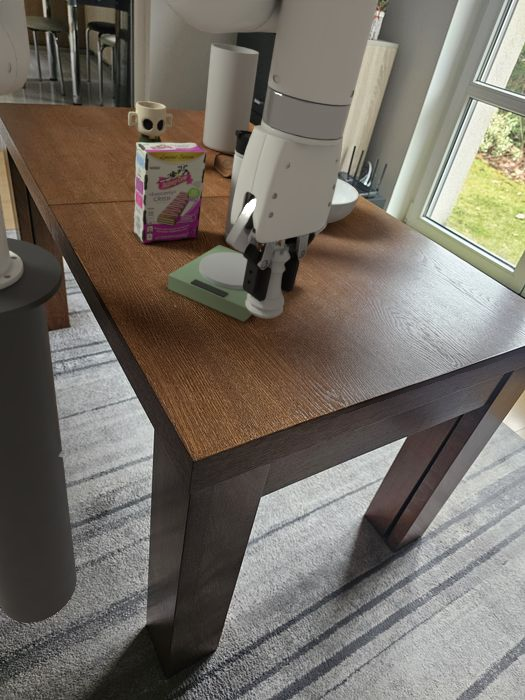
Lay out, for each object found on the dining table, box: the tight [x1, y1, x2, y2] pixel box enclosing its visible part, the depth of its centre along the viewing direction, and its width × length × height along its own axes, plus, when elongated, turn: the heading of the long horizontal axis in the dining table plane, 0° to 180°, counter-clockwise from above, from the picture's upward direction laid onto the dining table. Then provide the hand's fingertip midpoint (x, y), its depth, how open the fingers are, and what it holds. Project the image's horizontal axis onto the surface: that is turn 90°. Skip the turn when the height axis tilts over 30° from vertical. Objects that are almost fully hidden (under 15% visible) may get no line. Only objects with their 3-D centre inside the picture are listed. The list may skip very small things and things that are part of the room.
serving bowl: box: [327, 177, 360, 224], centre depth 112 cm, size 21×21×7 cm
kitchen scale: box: [167, 244, 253, 323], centre depth 82 cm, size 15×14×3 cm
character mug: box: [127, 100, 174, 143], centre depth 123 cm, size 11×7×13 cm, turn 117°
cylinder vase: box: [202, 42, 260, 154], centre depth 139 cm, size 12×12×25 cm
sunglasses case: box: [213, 152, 235, 178], centre depth 131 cm, size 18×7×7 cm
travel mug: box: [224, 130, 252, 241], centre depth 92 cm, size 6×7×20 cm
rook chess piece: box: [245, 240, 290, 320], centre depth 55 cm, size 4×4×8 cm
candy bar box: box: [133, 141, 207, 244], centre depth 90 cm, size 11×5×16 cm, turn 122°
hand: (267, 289), depth 56 cm, fingers closed on rook chess piece, 3 cm apart
